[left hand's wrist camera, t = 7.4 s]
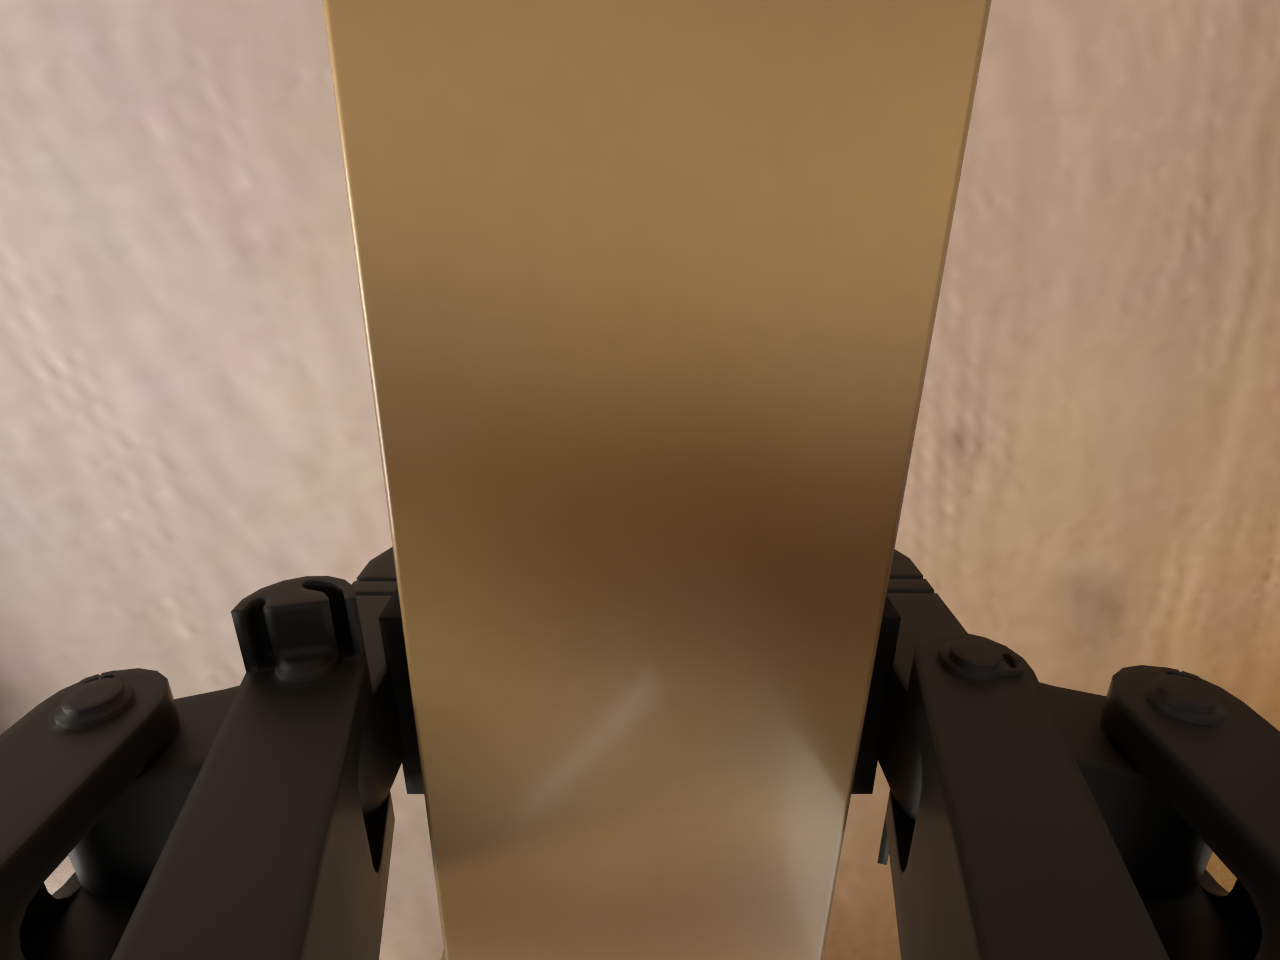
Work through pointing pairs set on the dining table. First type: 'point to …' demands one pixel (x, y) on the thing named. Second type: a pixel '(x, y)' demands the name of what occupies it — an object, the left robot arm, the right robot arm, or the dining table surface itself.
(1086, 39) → the dining table surface
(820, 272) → the plank
